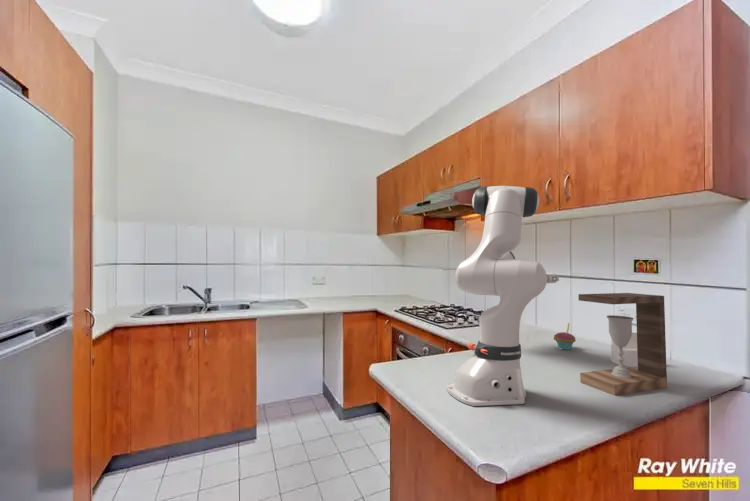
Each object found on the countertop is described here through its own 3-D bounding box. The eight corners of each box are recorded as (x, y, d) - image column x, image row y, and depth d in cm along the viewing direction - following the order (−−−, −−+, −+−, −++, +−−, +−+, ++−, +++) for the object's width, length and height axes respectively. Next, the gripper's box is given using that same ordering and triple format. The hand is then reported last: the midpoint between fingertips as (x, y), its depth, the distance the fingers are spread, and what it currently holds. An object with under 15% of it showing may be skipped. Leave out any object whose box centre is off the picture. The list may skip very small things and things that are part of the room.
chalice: (640, 379, 99) (638, 319, 99) (615, 378, 100) (614, 318, 101) (626, 371, 106) (625, 315, 107) (603, 370, 107) (602, 315, 108)
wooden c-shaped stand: (614, 395, 94) (612, 297, 95) (580, 382, 105) (578, 294, 106) (667, 387, 101) (664, 295, 102) (629, 375, 111) (627, 292, 112)
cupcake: (570, 346, 151) (570, 320, 152) (579, 351, 143) (578, 323, 143) (550, 345, 152) (550, 319, 153) (558, 350, 144) (558, 323, 144)
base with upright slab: (630, 360, 130) (630, 329, 130) (647, 367, 121) (646, 334, 122) (606, 359, 131) (605, 329, 131) (621, 366, 122) (620, 333, 122)
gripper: (501, 270, 138) (526, 270, 125) (540, 270, 144) (567, 270, 131) (501, 285, 137) (526, 287, 124) (540, 284, 144) (568, 286, 131)
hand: (547, 279), depth 128 cm, fingers open, 8 cm apart
